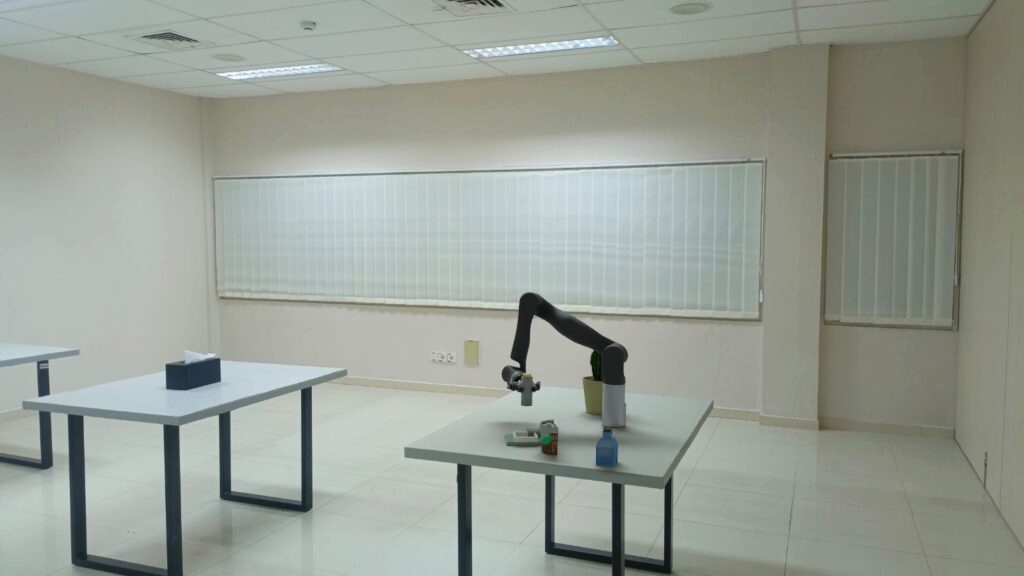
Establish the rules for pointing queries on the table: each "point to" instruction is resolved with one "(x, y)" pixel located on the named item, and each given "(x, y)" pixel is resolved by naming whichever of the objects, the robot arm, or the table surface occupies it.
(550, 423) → the food container
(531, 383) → the plug
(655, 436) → the table surface
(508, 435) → the board
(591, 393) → the potted cactus
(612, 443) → the perfume bottle
